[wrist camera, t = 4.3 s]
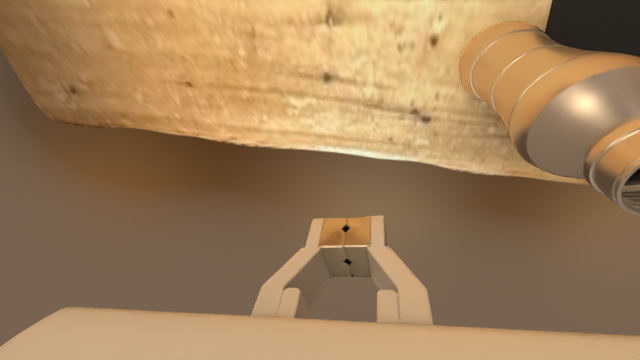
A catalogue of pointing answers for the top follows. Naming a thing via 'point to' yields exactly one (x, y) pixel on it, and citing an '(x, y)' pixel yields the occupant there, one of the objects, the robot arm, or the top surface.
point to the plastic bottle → (562, 105)
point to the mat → (596, 25)
